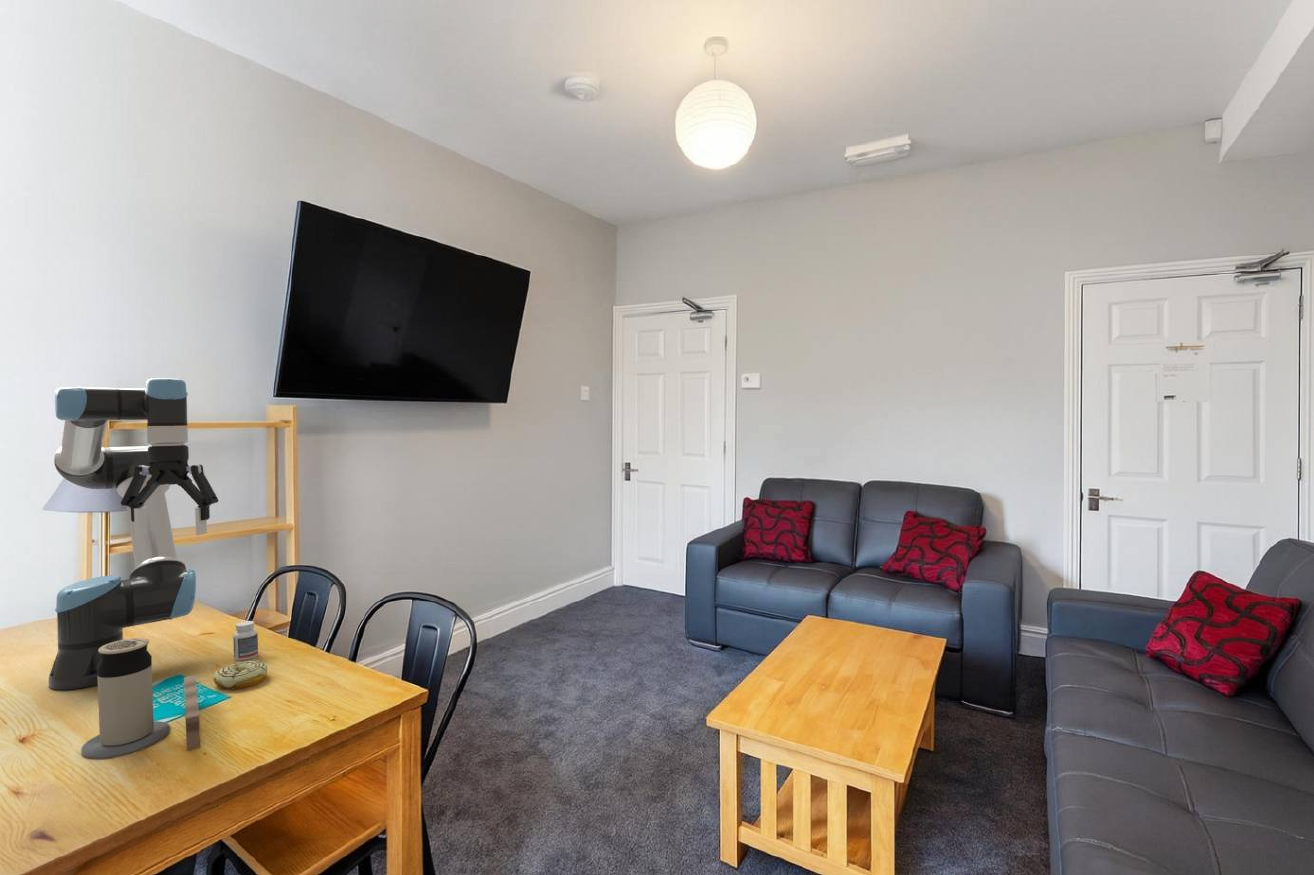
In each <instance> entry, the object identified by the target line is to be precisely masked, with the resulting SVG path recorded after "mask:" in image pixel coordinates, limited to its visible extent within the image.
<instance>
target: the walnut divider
mask: <svg viewBox="0 0 1314 875" xmlns="http://www.w3.org/2000/svg"><path fill="white" fill-rule="evenodd" d="M183 686H184V687H183V688H184V710H185V740H186V742H185V743H186V751H191V750H195V749H199V748H200V747H201V740H200V739H201V738H200V735H201V733H200V711H199V700H198V689H197V688H198V687H197V677H196V674H193V675H191V676H190V675H189V676H185V677H183Z"/></svg>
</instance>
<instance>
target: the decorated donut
mask: <svg viewBox="0 0 1314 875" xmlns="http://www.w3.org/2000/svg"><path fill="white" fill-rule="evenodd" d="M267 672H268V665H267V664H266V663H265V662H262V661H259V660H243V661H238V662H235V663H233V664H229V665H226V666H223V667H221V668H219V669H217V670H216V671H215V673H214V674H213V676H212V677H213V678H212V679H213V682H214V683H215V685H216V686H217V687H218V688H219V689H223V690H238V689H245V688H249V687H253V686H256V685H257V684H259V683H261V682H263V681H264V680H265V678H266V676H267V674H268V673H267Z"/></svg>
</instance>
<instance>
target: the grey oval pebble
mask: <svg viewBox="0 0 1314 875" xmlns="http://www.w3.org/2000/svg"><path fill="white" fill-rule="evenodd" d="M169 731H171V726H170V724H169V723H168V722H165V721H161V720H154V730H153V731H152V732H151V733H150V734H148V735H147V736H145V737H144V738H142V739H139V740H137V741H135V742H131V743H128V744H124V745H118V746H107V745H102V744H101V743H100V734H98V735H96V736H94V737H92V738H90V739H89V740H87V741H86V742H85V743H84V744H83V745H82V746H81V749H80V751H81V755H82V757H84V758H87V759H95V760H96V759H97V760H102V759H110V758H116V757H121V756H125V755H129V754H133V753H135V752H138V751H141V750H143V749H144V750H145V749H146V748H148V747H151V746H153V745H155V744H157V743H159V742H160V741H162V740H164V739H165V738H166V737H168V735H169V734H168V733H170V732H169Z"/></svg>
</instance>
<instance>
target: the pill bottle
mask: <svg viewBox="0 0 1314 875" xmlns="http://www.w3.org/2000/svg"><path fill="white" fill-rule="evenodd" d="M235 631H236V632H234V634H233V636H232V637H233V638H232V639H233V642H232V644H233V659H234V660H235V661H247V660H246V659H248V660H251V659H254V658H256V657H258V656H259V642H258V641H259V637H258V635H259V634H258V630H256V629H255V621H252V620H246V621H241V622H238V623H236V624H235Z"/></svg>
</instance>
